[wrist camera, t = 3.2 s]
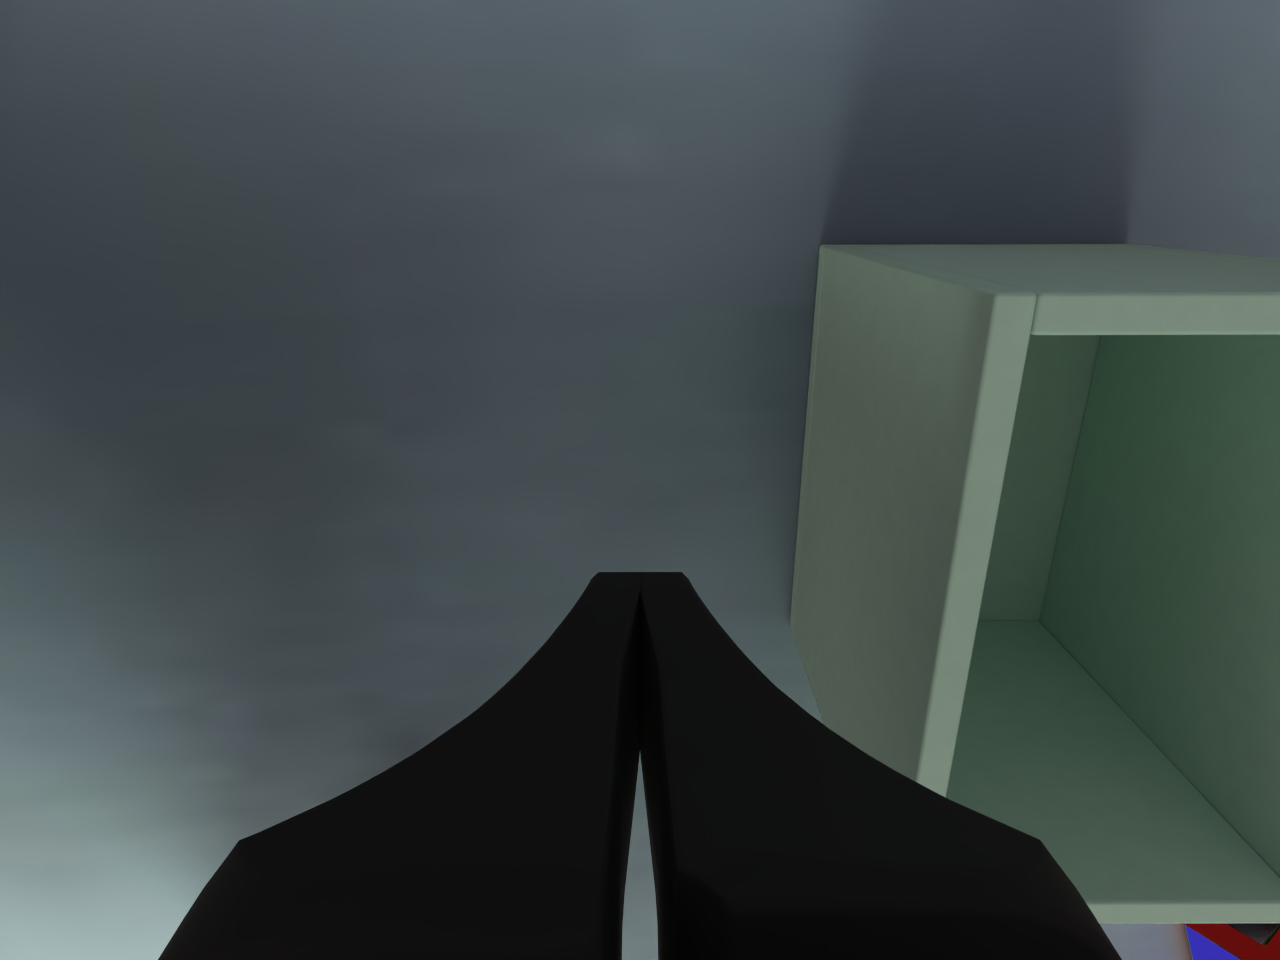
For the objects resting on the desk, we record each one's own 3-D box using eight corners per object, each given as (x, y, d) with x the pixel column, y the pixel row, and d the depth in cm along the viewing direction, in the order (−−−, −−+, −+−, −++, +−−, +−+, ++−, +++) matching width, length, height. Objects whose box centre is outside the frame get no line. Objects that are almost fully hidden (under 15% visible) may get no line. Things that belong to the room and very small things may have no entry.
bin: (789, 626, 20) (893, 926, 12) (819, 244, 17) (996, 292, 9) (1044, 625, 20) (1326, 924, 12) (1127, 243, 17) (1610, 290, 9)
